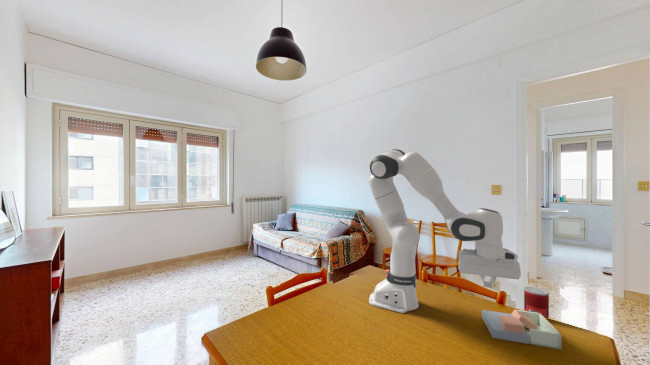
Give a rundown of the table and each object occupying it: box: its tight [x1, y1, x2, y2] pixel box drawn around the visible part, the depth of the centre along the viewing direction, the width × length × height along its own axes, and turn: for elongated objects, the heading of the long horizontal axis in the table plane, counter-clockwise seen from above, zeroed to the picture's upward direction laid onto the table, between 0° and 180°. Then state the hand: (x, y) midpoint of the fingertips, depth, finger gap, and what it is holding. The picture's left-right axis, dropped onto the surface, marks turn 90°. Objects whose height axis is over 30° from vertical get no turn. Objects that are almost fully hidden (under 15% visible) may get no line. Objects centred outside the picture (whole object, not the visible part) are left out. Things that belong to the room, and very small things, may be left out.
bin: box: [516, 309, 562, 350], centre depth 94 cm, size 9×15×5 cm, turn 161°
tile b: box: [499, 315, 525, 333], centre depth 93 cm, size 6×6×2 cm
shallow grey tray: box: [481, 309, 530, 345], centre depth 97 cm, size 11×15×3 cm
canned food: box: [523, 286, 550, 320], centre depth 107 cm, size 8×8×11 cm
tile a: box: [511, 308, 538, 330], centre depth 98 cm, size 6×6×2 cm
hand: (487, 286), depth 97 cm, fingers closed
